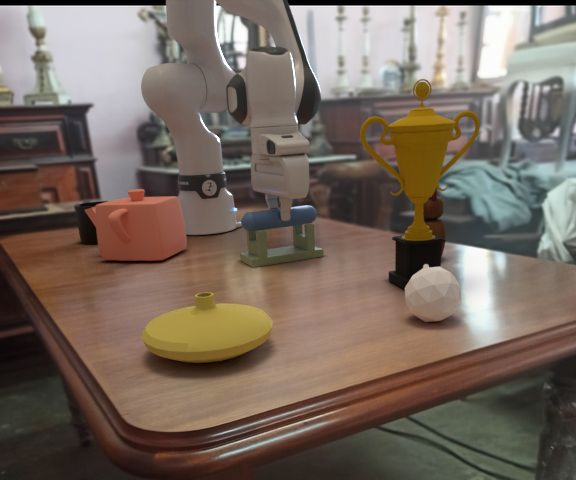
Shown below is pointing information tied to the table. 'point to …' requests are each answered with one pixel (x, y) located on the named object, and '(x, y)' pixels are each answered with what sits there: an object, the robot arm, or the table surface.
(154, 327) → the vase
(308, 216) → the handle
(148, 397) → the table surface
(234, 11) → the robot arm
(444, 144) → the trophy
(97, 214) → the teapot
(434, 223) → the wooden figurine
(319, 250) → the holder
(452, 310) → the ornament
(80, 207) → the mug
